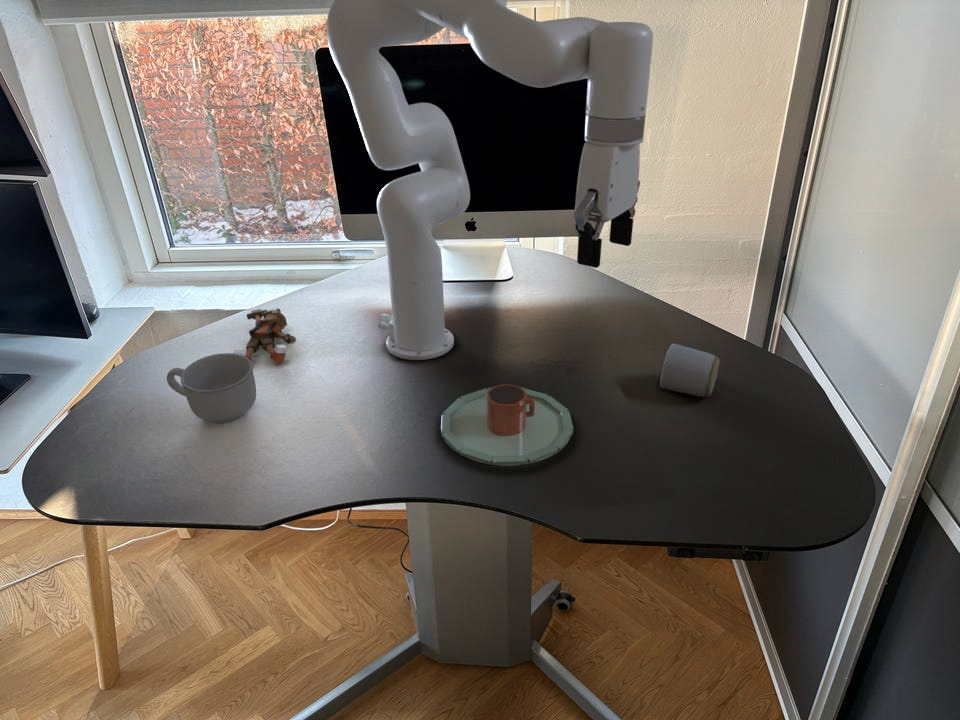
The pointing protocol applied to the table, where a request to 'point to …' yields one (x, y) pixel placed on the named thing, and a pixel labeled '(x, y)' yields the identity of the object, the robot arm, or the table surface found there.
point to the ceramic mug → (689, 371)
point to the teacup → (217, 386)
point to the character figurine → (267, 334)
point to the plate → (533, 444)
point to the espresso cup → (508, 409)
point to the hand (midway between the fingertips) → (604, 254)
